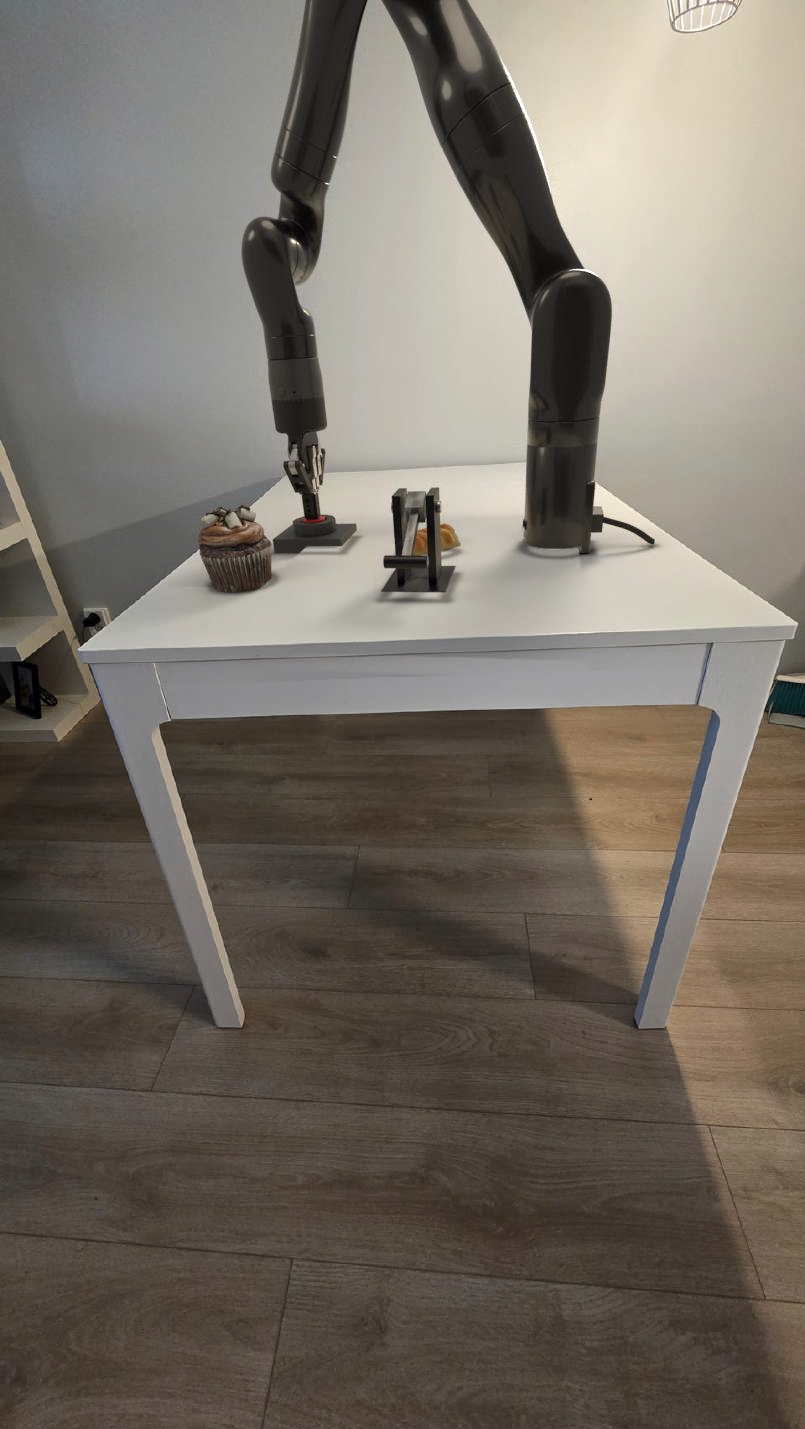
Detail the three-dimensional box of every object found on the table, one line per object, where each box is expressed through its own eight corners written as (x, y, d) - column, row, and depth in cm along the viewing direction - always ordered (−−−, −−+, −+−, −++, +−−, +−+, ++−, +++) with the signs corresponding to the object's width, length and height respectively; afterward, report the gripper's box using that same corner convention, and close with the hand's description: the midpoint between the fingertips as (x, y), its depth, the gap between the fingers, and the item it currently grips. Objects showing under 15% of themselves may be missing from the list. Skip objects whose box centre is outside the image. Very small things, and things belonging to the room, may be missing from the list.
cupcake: (197, 596, 84) (179, 519, 79) (219, 572, 93) (204, 501, 88) (268, 593, 84) (255, 515, 79) (284, 570, 92) (273, 498, 87)
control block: (357, 537, 105) (355, 512, 103) (342, 553, 97) (339, 526, 95) (294, 537, 107) (290, 513, 105) (274, 553, 99) (270, 527, 97)
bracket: (445, 601, 77) (443, 500, 71) (381, 600, 79) (373, 501, 73) (456, 574, 86) (454, 482, 80) (397, 574, 87) (391, 483, 81)
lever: (428, 574, 73) (425, 558, 71) (385, 573, 74) (381, 558, 72) (439, 506, 78) (437, 490, 76) (399, 507, 79) (396, 491, 77)
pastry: (415, 567, 89) (413, 540, 87) (386, 558, 94) (383, 532, 92) (464, 552, 94) (464, 525, 92) (434, 544, 99) (433, 519, 97)
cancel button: (329, 526, 102) (328, 515, 101) (322, 532, 99) (321, 521, 98) (307, 526, 103) (306, 515, 102) (300, 532, 100) (298, 521, 99)
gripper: (307, 398, 85) (323, 529, 94) (335, 389, 96) (347, 508, 105) (254, 400, 86) (275, 529, 95) (288, 392, 97) (303, 508, 106)
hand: (312, 518), depth 100 cm, fingers closed
